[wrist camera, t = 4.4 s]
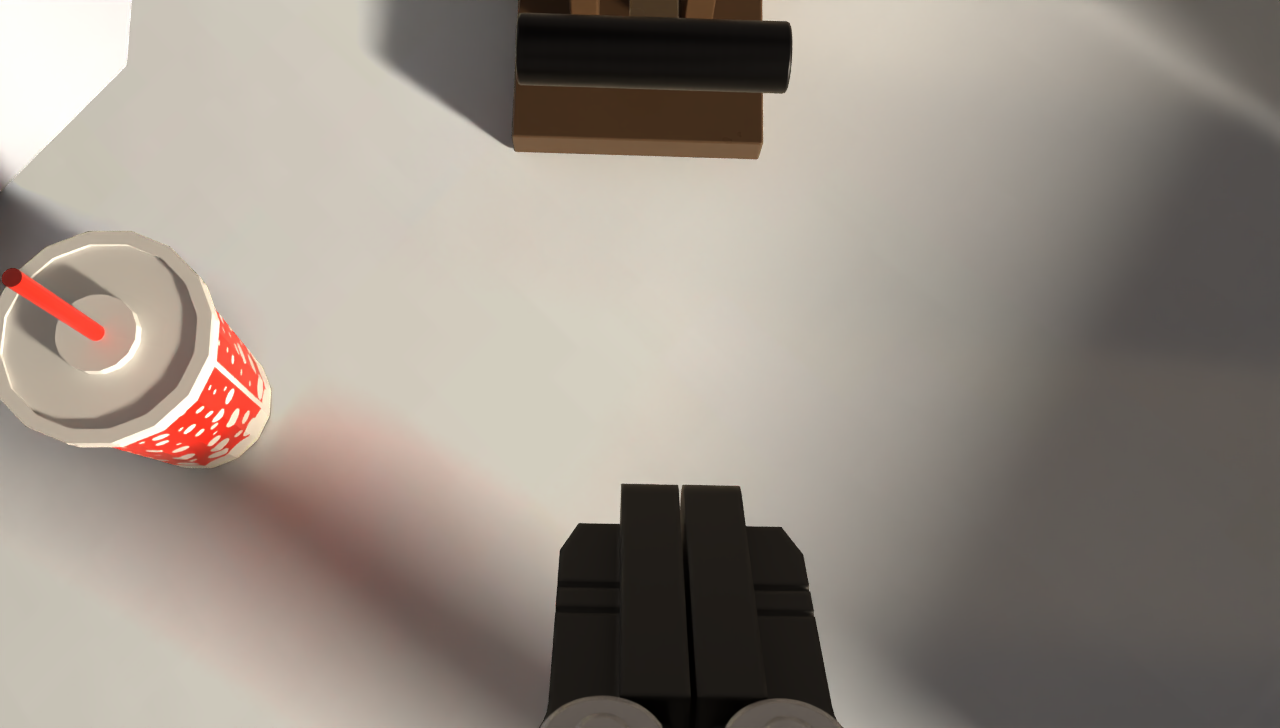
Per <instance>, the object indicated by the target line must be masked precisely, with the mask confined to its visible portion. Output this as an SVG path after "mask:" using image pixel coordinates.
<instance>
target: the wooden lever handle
mask: <svg viewBox="0 0 1280 728" xmlns="http://www.w3.org/2000/svg"><path fill="white" fill-rule="evenodd" d="M791 63H792V30H791V26H790V23H789V22H786V21H758V20H728V19H699V18H679V11H678V0H629V16H610V15H580V14H551V13H519V15H518V18H517V25H516V76H517V81H518V84H520V85H533V86H564V87H595V88H626V89H657V90H688V91H719V92H750V93H781V94H782V93H785V92H786V90H787V88H788V84H789V79H790V73H791Z"/></svg>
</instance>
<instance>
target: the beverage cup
mask: <svg viewBox="0 0 1280 728" xmlns="http://www.w3.org/2000/svg"><path fill="white" fill-rule="evenodd" d="M2 283H3V284H4V285H5V286H6V287H5V289H4V291H3V293H2V294H1V296H0V399H1V400H2V401H3V403H4V404H5V405H6V406H7V407H8V408H9V409H10V410H11V411H12V412H13V413H14V414H15V415H16V417H17V418H18V419H19V420H20V421H21V422H22V423H23V424H24V425H25V426H26V427H28V428H30V429H33V430H35V431H38V432H40V433H42V434H45V435H47V436H50V437H52V438H54V439H57V440H59V441H62V442H64V443H66V444H69V445H74V446H77V447H112V448H116V449H119V450H123V451H126V452H130V453H134V454H137V455H141V456H144V457H148V458H151V459H155V460H158V461H162V462H166V463H169V464H173V465H176V466H180V467H183V468H214V467H217V466H219V465H222V464H224V463H227V462H229V461H232V460H234V459H237V458H239V457H240V456H241V455H242V454H243V453H244V452H245V451H246V450H247V449H248V448H249V447H250V446H252V445H253V444H254V443H255V442H256V441H257V440H258V438H259V436H260V434H261V432H262V430H263V428H264V426H265V424H266V422H267V420H268V418H269V416H270V401H271V389H270V386H269V383H268V381H267V378H266V375H265V372H264V370H263V367H262V366H261V365H260V364H259V362H258V361H257V360H256V359H255V357H254V356H253V355H252V354H251V352H250V351H249V350H248V349H247V348H246V346H245V345H244V344H243V343H242V341H241V340H240V339H239V338H238V337H237V335H236V334H235V333H234V332H233V330H232V329H231V328H230V327H229V326H228V324H227V323H226V322H225V321H224V319H223V318H222V317H221V316H220V314H219V313H218V312H217V311H216V310H215V307H214V304H213V302H212V299H211V296H210V293H209V290H208V288H207V285H206V284H205V283H204V282H203V281H202V279H201V278H200V277H199V275H198V274H197V273H196V272H195V271H194V270H193V269H192V268H191V267H190V266H189V265H188V264H187V263H186V262H185V261H184V260H183V259H182V258H181V257H180V256H179V255H178V254H177V253H176V252H175V251H174V250H173V249H172V248H171V247H170V246H167V245H165V244H162V243H160V242H157V241H155V240H152V239H150V238H147V237H145V236H142V235H140V234H137V233H135V232H132V231H87V232H85V233H82V234H79V235H77V236H74V237H71V238H69V239H66V240H63V241H60V242H58V243H55V244H52V245H50V246H47V247H45V248H44V249H43V250H42V251H41V252H39V253H38V254H37V255H36V256H35V257H34V258H32V259H31V260H30V261H29V262H28V263H26V264H25V265H24V266H23V267H22V268H21V269H19V270H18V269H16V268H10V269H7V270H6V271H5V272H4V273H3V275H2Z"/></svg>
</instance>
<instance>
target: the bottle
mask: <svg viewBox="0 0 1280 728" xmlns="http://www.w3.org/2000/svg"><path fill="white" fill-rule="evenodd" d="M131 4H132V0H0V192H1V191H2V190H3V189H4V188H5V187H6V186H7V185H8V184H9V183H10V182H11V181H12V180H13V179H14V178H15V177H16V176H17V175H18V174H19V173H20V172H21V171H22V170H23V169H24V168H25V167H26V166H27V165H28V164H29V163H30V162H31V161H32V160H33V159H34V158H35V157H36V156H37V155H38V154H39V153H40V152H41V151H42V150H43V149H44V148H45V147H46V146H47V145H48V144H49V143H50V142H51V141H52V140H53V139H54V138H55V137H56V136H57V135H58V134H59V133H60V132H61V131H62V130H63V129H64V128H65V127H66V126H67V125H68V124H69V123H70V122H71V121H72V120H73V119H74V118H75V117H76V116H77V115H78V114H79V113H80V112H81V111H82V110H83V109H84V108H85V107H86V106H87V105H88V104H89V103H90V102H91V101H92V100H93V99H94V98H95V97H96V96H97V95H98V94H99V93H100V92H101V91H102V90H103V89H104V88H105V87H106V86H107V85H108V84H109V83H110V82H111V81H112V80H113V79H114V78H115V77H116V76H117V75H118V74H119V73H120V72H121V70H122V69H123V68H124V67H125V66H126V65H127V57H128V44H129V31H130V17H131Z"/></svg>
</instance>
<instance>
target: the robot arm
mask: <svg viewBox="0 0 1280 728" xmlns="http://www.w3.org/2000/svg"><path fill="white" fill-rule="evenodd" d="M539 728H843V727H842V726H841V725H840V723H839V722H838V721H837V720H836V717H835V715H834V712H833V708H832V704H831V699H830V694H829V688H828V683H827V678H826V672H825V667H824V662H823V657H822V651H821V646H820V641H819V636H818V630H817V625H816V620H815V617H814V609H813V604H812V599H811V593H810V592H809V583H808V578H807V572H806V567H805V562H804V557H803V554H802V553H801V551H800V550H799V549H798V548H797V546H796V545H795V544H794V542H793V541H792V540H791V539H790V537H789V536H788V535H787V534H786V532H785V531H784V530H783V529H782V527H752V526H746V525H745V517H744V510H743V502H742V494H741V489H740V486H716V485H682V491H681V503H679V488H678V485H656V484H621V509H620V524H589V523H579V524H578V525H577V527H576V528H575V529H574V531H573V532H572V534H571V535H570V537H569V538H568V539H567V541H566V542H565V544H564V545H563V547H562V548H561V549H560V556H559V569H558V585H557V596H556V612H555V622H554V635H553V649H552V662H551V675H550V689H549V702H548V708H547V712H546V715H545V718H544V720H543V722H542V724H541V725H540V727H539Z"/></svg>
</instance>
